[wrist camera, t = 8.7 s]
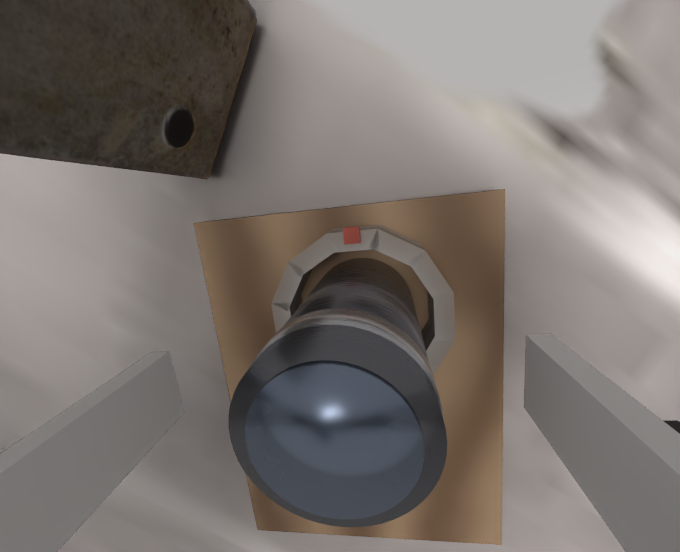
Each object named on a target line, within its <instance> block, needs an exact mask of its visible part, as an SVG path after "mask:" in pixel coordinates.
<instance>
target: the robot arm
mask: <svg viewBox="0 0 680 552" xmlns="http://www.w3.org/2000/svg"><path fill="white" fill-rule="evenodd" d="M524 408H525V409H526V410H527V412H528V413H529V415H530V416H531V418H532V419H533V420H534V422H535V423H536V425H537V426H538V428H539V429H540V430H541V432H542V433H543V435H544V436H545V437H546V439H547V440H548V442H549V443H550V445H551V446H552V447H553V449H554V450H555V452H556V453H557V455H558V456H559V457H560V459H561V460H562V462H563V463H564V465H565V466H566V467H567V469H568V470H569V472H570V473H571V474H572V476H573V477H574V479H575V480H576V482H577V483H578V484H579V486H580V487H581V489H582V490H583V492H584V493H585V494H586V496H587V497H588V499H589V500H590V501H591V503H592V504H593V506H594V507H595V509H596V510H597V511H598V513H599V514H600V516H601V517H602V519H603V520H604V521H605V523H606V524H607V526H608V527H609V529H610V530H611V531H612V533H613V534H614V536H615V537H616V538H617V540H618V541H619V543H620V544H621V546H622V547H623V548H624V550H625V551H626V552H680V422H679V421H663V420H661V419H660V418H659V417H657V416H656V415H655V414H654V413H652V412H651V411H650V410H648V409H647V408H646V407H645V406H643V405H642V404H641V403H639V402H638V401H637V400H636V399H634V398H633V397H632V396H630V395H629V394H628V393H627V392H625V391H624V390H623V389H621V388H620V387H619V386H618V385H616V384H615V383H614V382H612V381H611V380H610V379H609V378H607V377H606V376H605V375H603V374H602V373H601V372H600V371H598V370H597V369H596V368H594V367H593V366H592V365H590V364H589V363H588V362H587V361H585V360H584V359H583V358H581V357H580V356H579V355H578V354H576V353H575V352H574V351H572V350H571V349H570V348H569V347H567V346H566V345H565V344H563V343H562V342H561V341H560V340H558V339H557V338H556V337H554V336H553V335H552V334H531V335H526V351H525V388H524ZM183 413H184V409H183V405H182V401H181V397H180V393H179V389H178V385H177V381H176V377H175V373H174V369H173V365H172V361H171V357H170V353H169V351H168V352H151V353H150V354H148V355H147V356H145V357H144V358H142V359H141V360H139V361H138V362H136V363H135V364H133V365H132V366H130V367H129V368H127V369H126V370H124V371H123V372H121V373H120V374H118V375H117V376H116V377H114V378H113V379H111V380H110V381H108V382H107V383H105V384H104V385H102V386H101V387H99V388H98V389H96V390H95V391H93V392H92V393H90V394H89V395H87V396H86V397H84V398H83V399H81V400H80V401H78V402H77V403H75V404H74V405H72V406H71V407H69V408H68V409H66V410H65V411H63V412H62V413H60V414H59V415H57V416H56V417H54V418H53V419H51V420H50V421H48V422H47V423H45V424H44V425H42V426H41V427H39V428H38V429H37V430H35V431H34V432H32V433H31V434H29V435H28V436H26V437H25V438H23V439H22V440H20V441H19V442H17V443H16V444H14V445H13V446H11V447H10V448H8V449H7V450H5V451H4V452H2V453H1V454H0V552H57V551H58V550H59V549H60V548H61V547H62V546H63V545H64V544H65V543H66V542H67V540H68V539H69V538H70V537H71V536H72V535H73V534H74V533H75V532H76V531H77V529H78V528H79V527H80V526H81V525H82V524H83V523H84V522H85V521H86V520H87V519H88V517H89V516H90V515H91V514H92V513H93V512H94V511H95V510H96V509H97V508H98V507H99V505H100V504H101V503H102V502H103V501H104V500H105V499H106V498H107V497H108V496H109V494H110V493H111V492H112V491H113V490H114V489H115V488H116V487H117V486H118V485H119V484H120V482H121V481H122V480H123V479H124V478H125V477H126V476H127V475H128V474H129V473H130V471H131V470H132V469H133V468H134V467H135V466H136V465H137V464H138V463H139V462H140V461H141V459H142V458H143V457H144V456H145V455H146V454H147V453H148V452H149V451H150V450H151V449H152V447H153V446H154V445H155V444H156V443H157V442H158V441H159V440H160V439H161V438H162V436H163V435H164V434H165V433H166V432H167V431H168V430H169V429H170V428H171V427H172V426H173V424H174V423H175V422H176V421H177V420H178V419H179V418H180V417H181V416H182V415H183Z"/></svg>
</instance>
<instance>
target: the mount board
mask: <svg viewBox="0 0 680 552" xmlns="http://www.w3.org/2000/svg"><path fill="white" fill-rule="evenodd" d="M194 227H195V232H196V237H197V241H198V246H199V251H200V256H201V261H202V265H203V270H204V275H205V280H206V285H207V289H208V294H209V299H210V304H211V308H212V313H213V318H214V323H215V328H216V332H217V337H218V342H219V347H220V352H221V356H222V361H223V366H224V371H225V376H226V380H227V385H228V390H229V395H230V400H231V401H232V397H233V394H234V391H235V389H236V387H237V385H238V383H239V381H240V380H241V379H242V377H243V376H244V374H245V373H246V371H247V370H248V369H249V368H250V366H251V364H252V362H253V361H254V360H255V358H256V357H257V355H258V354H259V353H260V352H261V350H262V349H263V348H264V347H265V345H266V344H267V343H268V342H269V341H270V339H271V338H272V337H273V336H274V335H275V334H276V333H277V332H278V331H279V330H280V329H281V328H282V327H283V326H284V325H285V323H286V322H287V321H288V320H289V318H290V317H291V316H292V315H293V313H294V312H295V311H296V310H297V309H298V307H299V306H300V305H301V304H302V302H303V301H304V300H305V299H306V297H307V296H308V295H309V294H310V292H311V291H312V290H313V289H314V288H315V286H316V285H317V284H318V283H319V281H320V280H321V279H322V278H323V276H324V275H325V274H326V273H327V272H328V271H329V270H330V269H331V268H333V267H334V266H336V265H337V264H339V263H341V262H343V261H346V260H350V259H355V258H370V259H375V260H379V261H381V262H384V263H386V264H388V265H389V266H391V267H392V268H394V269H395V270H396V271H397V272H398V273H399V274H400V275H401V276H402V277H403V278H404V280H405V281H406V283H407V284H408V286H409V289H410V291H411V295H412V298H413V302H414V306H415V310H416V314H417V318H418V322H419V326H420V330H421V334H422V338H423V342H424V345H425V349H426V353H427V357H428V361H429V364H430V367H431V369H432V371H433V375H434V378H435V382H436V386H437V390H438V393H439V397H440V401H441V405H442V412H443V420H444V424H445V428H446V435H447V456H446V461H445V466H444V469H443V472H442V474H441V477H440V479H439V481H438V482H437V484H436V486H435V488H434V489H433V490H432V492H431V493H430V494H429V495H428V497H427V498H426V499H425V500H424V501H423V502H421V503H420V504H419V505H418V506H417V507H416V508H414V509H413V510H411V511H410V512H408V513H407V514H405V515H403V516H401V517H399V518H397V519H394V520H391V521H389V522H386V523H383V524H378V525H373V526H366V527H338V526H330V525H325V524H321V523H317V522H314V521H310V520H307V519H305V518H302V517H300V516H298V515H295V514H293V513H291V512H290V511H288V510H286V509H284V508H282V507H281V506H279V505H278V504H277V503H275V502H274V501H272V500H271V499H270V498H269V497H267V496H266V495H265V494H264V493H263V492H262V491H261V490H260V489H259V488H258V487H257V486H256V485H255V484H254V483H253V482H252V481H251V479H250V478H249V477H248V475H247V474H246V476H247V481H248V486H249V491H250V496H251V500H252V505H253V510H254V515H255V520H256V524H257V529H258V530H267V531H284V532H300V533H316V534H333V535H349V536H365V537H382V538H398V539H414V540H431V541H447V542H463V543H480V544H496V545H502V445H503V343H504V241H505V189H503V190H492V191H483V192H474V193H464V194H455V195H446V196H437V197H427V198H418V199H409V200H400V201H391V202H381V203H372V204H363V205H354V206H344V207H335V208H326V209H317V210H308V211H298V212H289V213H280V214H271V215H262V216H252V217H243V218H234V219H225V220H215V221H206V222H198V223H194Z"/></svg>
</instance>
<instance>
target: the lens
mask: <svg viewBox="0 0 680 552" xmlns="http://www.w3.org/2000/svg"><path fill="white" fill-rule="evenodd" d="M229 431H230V438H231V442H232V445H233V449H234V452H235V454H236V456H237V458H238V461H239V463H240V464H241V466H242V468H243V469H244V471H245V473H246V474H247V475H248V477H249V478H250V479H251V481H252V482H253V483H254V484H255V485H256V486H257V487H258V488H259V489H260V490H261V491H262V492H263V493H264V494H265V495H266V496H267V497H269V498H270V499H271V500H272V501H274V502H275V503H277V504H278V505H279V506H281V507H282V508H284V509H286V510H288V511H290V512H291V513H293V514H295V515H298V516H300V517H302V518H305V519H307V520H310V521H314V522H317V523H321V524H325V525H330V526H338V527H366V526H373V525H378V524H383V523H386V522H389V521H391V520H394V519H397V518H399V517H401V516H403V515H405V514H407V513H408V512H410V511H411V510H413V509H414V508H416V507H417V506H418V505H419V504H420V503H421V502H423V501H424V500H425V499H426V498H427V497H428V495H429V494H430V493H431V492H432V490H433V489H434V488H435V486H436V484H437V482H438V481H439V479H440V477H441V474H442V472H443V469H444V466H445V461H446V456H447V435H446V428H445V424H444V420H443V412H442V405H441V401H440V397H439V393H438V390H437V386H436V382H435V378H434V375H433V371H432V369H431V367H430V364H429V361H428V357H427V353H426V349H425V345H424V342H423V338H422V334H421V330H420V326H419V322H418V318H417V314H416V310H415V306H414V302H413V298H412V295H411V291H410V289H409V286H408V284H407V283H406V281H405V280H404V278H403V277H402V276H401V275H400V274H399V273H398V272H397V271H396V270H395V269H394V268H392V267H391V266H389V265H388V264H386V263H384V262H381V261H379V260H375V259H370V258H355V259H350V260H346V261H343V262H341V263H339V264H337V265H336V266H334V267H333V268H331V269H330V270H329V271H328V272H327V273H326V274H325V275H324V276H323V278H322V279H321V280H320V281H319V283H318V284H317V285H316V286H315V288H314V289H313V290H312V291H311V292H310V294H309V295H308V296H307V297H306V299H305V300H304V301H303V302H302V304H301V305H300V306H299V307H298V309H297V310H296V311H295V312H294V313H293V315H292V316H291V317H290V318H289V320H288V321H287V322H286V323H285V325H284V326H283V327H282V328H281V329H280V330H279V331H278V332H277V333H276V334H275V335H274V336H273V337H272V338H271V339H270V341H269V342H268V343H267V344H266V345H265V347H264V348H263V349H262V350H261V352H260V353H259V354H258V355H257V357H256V358H255V360H254V361H253V362H252V364H251V366H250V368H249V369H248V370H247V371H246V373H245V374H244V376H243V377H242V379H241V380H240V381H239V383H238V385H237V387H236V389H235V391H234V394H233V397H232V401H231V404H230V411H229Z"/></svg>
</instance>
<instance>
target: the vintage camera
mask: <svg viewBox="0 0 680 552" xmlns="http://www.w3.org/2000/svg"><path fill="white" fill-rule="evenodd" d="M256 22H257V19H256V13H255V10H254V9H253V7H252V6H251V5H250V3H249V2H248V0H0V153H3V154H10V155H17V156H25V157H32V158H40V159H48V160H56V161H64V162H73V163H81V164H89V165H97V166H106V167H114V168H122V169H130V170H138V171H147V172H155V173H163V174H171V175H179V176H187V177H195V178H201V179H208V178H209V177H210V175H211V171H212V167H213V163H214V160H215V158H216V155H217V152H218V150H219V146H220V143H221V140H222V136H223V133H224V130H225V126H226V122H227V119H228V115H229V111H230V108H231V105H232V102H233V99H234V96H235V92H236V88H237V84H238V81H239V78H240V75H241V73H242V70H243V67H244V63H245V60H246V56H247V53H248V49H249V45H250V42H251V38H252V34H253V31H254V28H255V25H256Z"/></svg>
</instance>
